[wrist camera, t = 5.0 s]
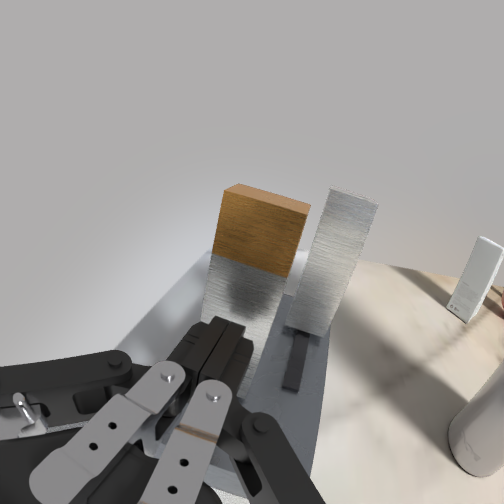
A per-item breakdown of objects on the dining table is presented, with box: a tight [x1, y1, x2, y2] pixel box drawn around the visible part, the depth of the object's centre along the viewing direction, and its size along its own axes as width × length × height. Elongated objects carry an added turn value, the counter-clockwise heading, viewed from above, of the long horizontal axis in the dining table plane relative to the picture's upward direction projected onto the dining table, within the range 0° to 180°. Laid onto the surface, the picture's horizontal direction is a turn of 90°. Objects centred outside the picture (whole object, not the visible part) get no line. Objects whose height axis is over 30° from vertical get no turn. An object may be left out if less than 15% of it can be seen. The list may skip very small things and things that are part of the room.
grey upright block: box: [285, 185, 378, 338], centre depth 23 cm, size 2×4×12 cm, turn 74°
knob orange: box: [200, 184, 311, 399], centre depth 15 cm, size 2×4×12 cm, turn 74°
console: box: [154, 294, 330, 499], centre depth 22 cm, size 20×10×4 cm, turn 164°
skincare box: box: [446, 236, 504, 323], centre depth 42 cm, size 8×6×15 cm
